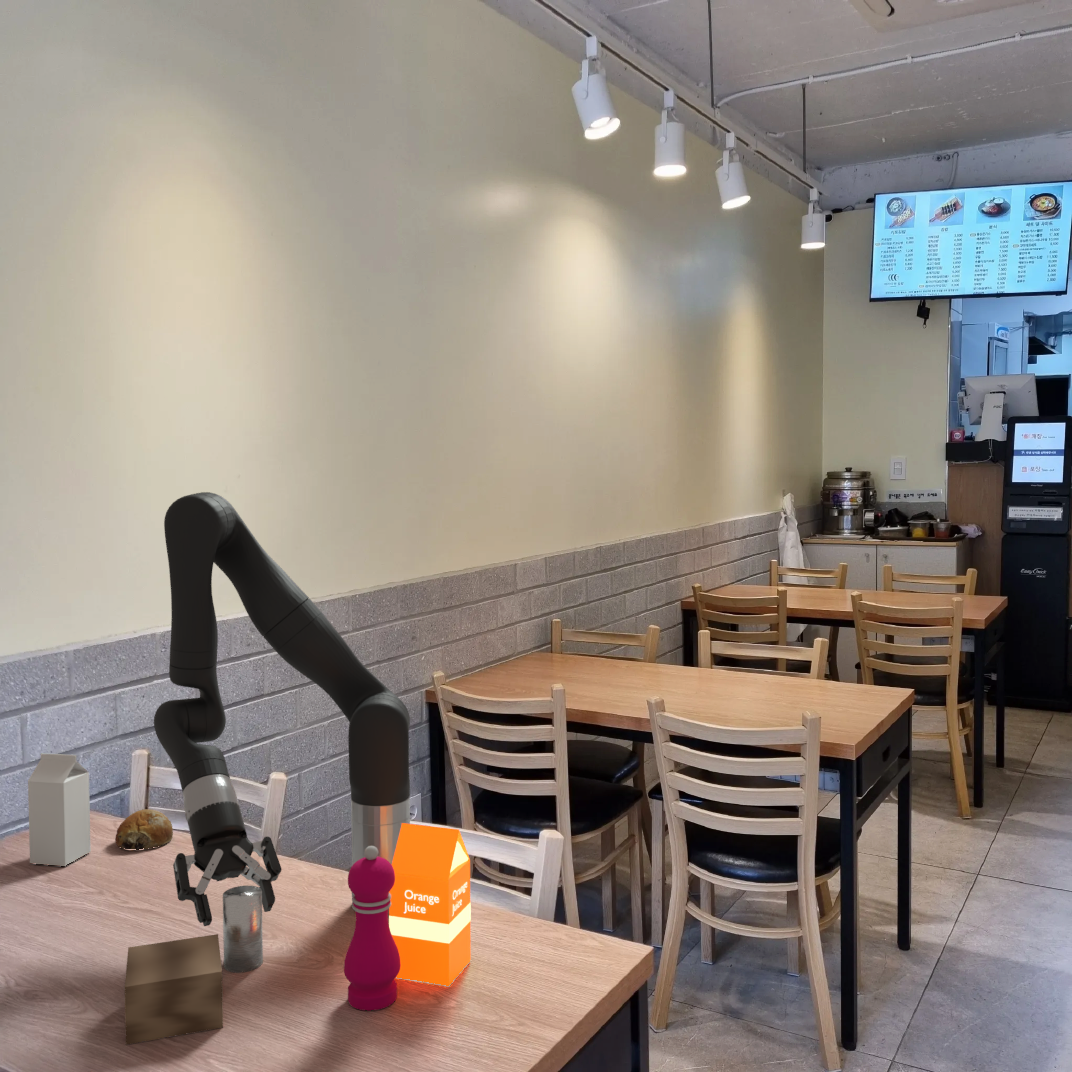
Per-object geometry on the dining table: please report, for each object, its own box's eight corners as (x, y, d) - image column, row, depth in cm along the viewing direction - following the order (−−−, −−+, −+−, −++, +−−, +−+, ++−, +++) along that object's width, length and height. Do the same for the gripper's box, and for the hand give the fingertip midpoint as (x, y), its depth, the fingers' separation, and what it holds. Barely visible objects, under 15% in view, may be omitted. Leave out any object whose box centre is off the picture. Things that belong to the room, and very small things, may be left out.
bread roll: (176, 861, 187) (191, 818, 190) (132, 853, 179) (148, 809, 182) (143, 851, 192) (157, 810, 195) (99, 843, 184) (115, 800, 187)
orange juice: (449, 988, 131) (448, 839, 130) (388, 978, 134) (387, 831, 133) (471, 962, 139) (470, 820, 138) (414, 953, 141) (412, 814, 141)
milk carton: (65, 867, 174) (62, 760, 173) (29, 865, 176) (27, 758, 175) (91, 853, 181) (88, 750, 180) (56, 850, 183) (54, 748, 182)
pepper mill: (375, 1019, 123) (373, 860, 123) (332, 1003, 127) (330, 849, 126) (412, 994, 130) (411, 843, 129) (370, 980, 133) (368, 833, 133)
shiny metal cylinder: (261, 952, 142) (260, 883, 141) (264, 968, 137) (263, 897, 136) (222, 958, 140) (221, 888, 139) (224, 975, 135) (223, 902, 135)
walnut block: (218, 986, 132) (218, 934, 132) (222, 1027, 122) (222, 971, 121) (129, 1000, 128) (128, 947, 128) (125, 1044, 118) (124, 987, 118)
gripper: (168, 808, 141) (192, 916, 132) (266, 792, 149) (295, 892, 140) (159, 835, 146) (181, 940, 137) (254, 817, 154) (281, 916, 145)
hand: (239, 916), depth 139 cm, fingers open, 8 cm apart
